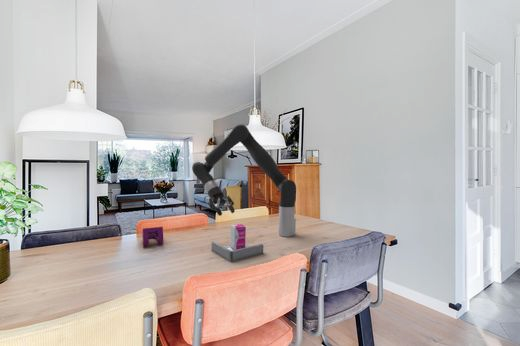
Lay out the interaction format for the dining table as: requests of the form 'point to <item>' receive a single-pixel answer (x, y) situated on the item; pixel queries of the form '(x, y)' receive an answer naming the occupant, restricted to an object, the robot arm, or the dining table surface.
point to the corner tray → (236, 251)
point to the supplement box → (238, 236)
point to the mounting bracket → (152, 235)
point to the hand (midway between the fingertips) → (227, 213)
